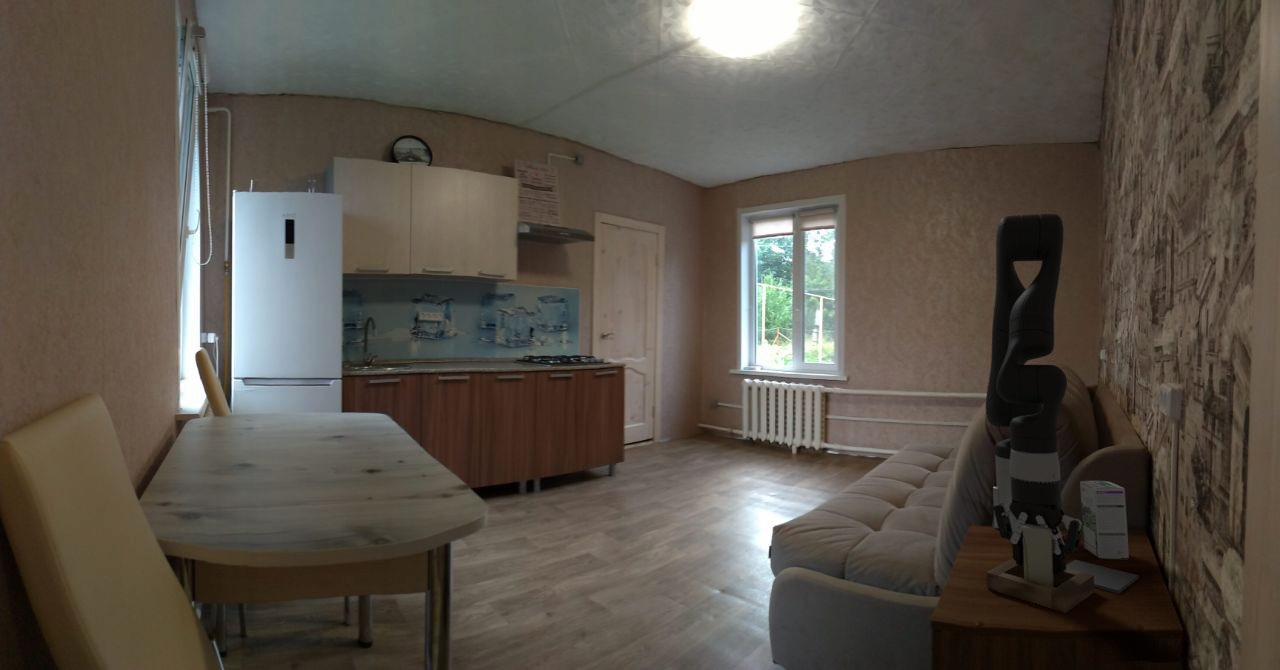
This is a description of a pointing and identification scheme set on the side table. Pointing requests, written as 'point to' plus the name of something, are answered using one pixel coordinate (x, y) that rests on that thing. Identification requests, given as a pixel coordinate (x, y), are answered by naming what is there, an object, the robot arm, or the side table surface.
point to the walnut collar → (1041, 586)
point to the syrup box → (1104, 519)
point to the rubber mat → (1105, 576)
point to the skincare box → (1038, 554)
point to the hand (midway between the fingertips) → (1038, 568)
